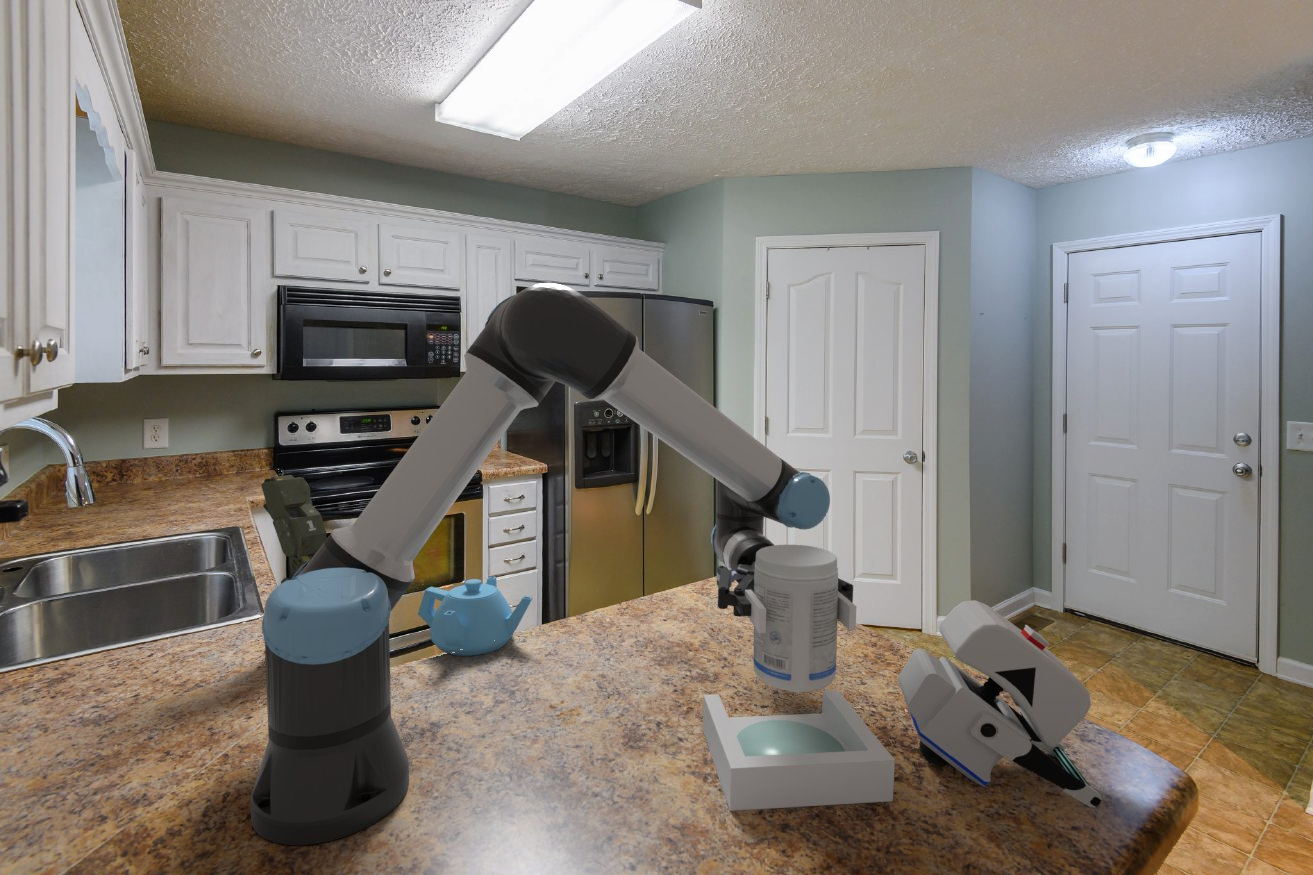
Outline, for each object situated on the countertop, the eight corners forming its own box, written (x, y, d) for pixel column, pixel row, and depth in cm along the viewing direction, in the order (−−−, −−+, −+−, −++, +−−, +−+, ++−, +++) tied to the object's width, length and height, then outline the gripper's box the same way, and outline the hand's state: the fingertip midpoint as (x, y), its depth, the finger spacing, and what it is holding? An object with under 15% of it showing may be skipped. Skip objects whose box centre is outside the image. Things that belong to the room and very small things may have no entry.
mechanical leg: (355, 650, 105) (325, 467, 106) (311, 666, 99) (279, 472, 100) (310, 650, 112) (282, 479, 113) (266, 665, 106) (237, 485, 107)
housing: (729, 810, 68) (731, 768, 68) (702, 729, 84) (703, 694, 84) (892, 801, 70) (894, 759, 70) (836, 723, 86) (837, 689, 86)
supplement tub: (822, 658, 81) (826, 543, 80) (846, 695, 72) (852, 565, 70) (745, 658, 81) (748, 543, 79) (759, 695, 71) (763, 565, 70)
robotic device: (1039, 865, 71) (1169, 736, 68) (877, 739, 74) (995, 607, 70) (1007, 805, 81) (1119, 689, 78) (866, 696, 84) (968, 579, 80)
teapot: (498, 619, 122) (497, 563, 121) (535, 645, 110) (534, 583, 109) (415, 637, 113) (414, 577, 112) (445, 668, 101) (445, 601, 100)
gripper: (828, 586, 95) (902, 649, 73) (678, 589, 92) (707, 656, 70) (830, 535, 94) (905, 584, 72) (679, 538, 92) (709, 588, 70)
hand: (808, 619), depth 71 cm, fingers closed on supplement tub, 9 cm apart
